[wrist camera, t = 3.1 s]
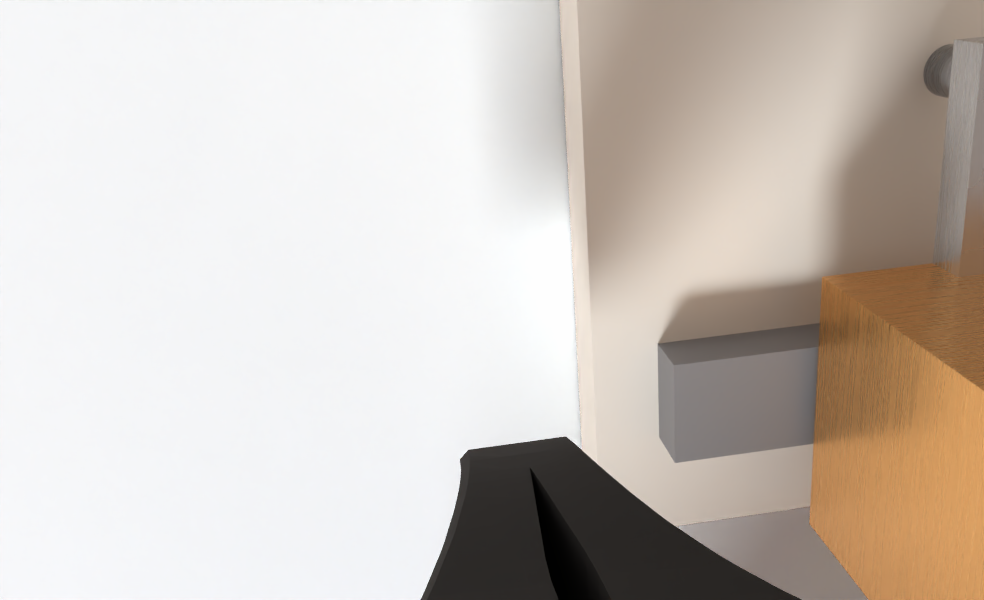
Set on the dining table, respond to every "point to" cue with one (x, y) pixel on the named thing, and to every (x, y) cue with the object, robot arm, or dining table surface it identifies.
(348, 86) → the dining table surface
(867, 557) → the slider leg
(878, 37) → the pitch plate
